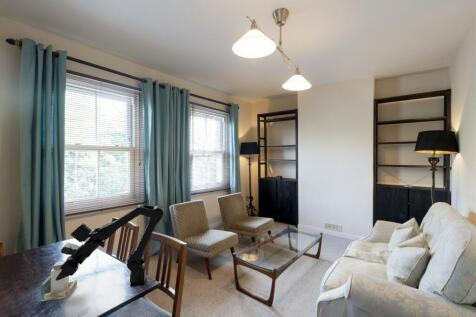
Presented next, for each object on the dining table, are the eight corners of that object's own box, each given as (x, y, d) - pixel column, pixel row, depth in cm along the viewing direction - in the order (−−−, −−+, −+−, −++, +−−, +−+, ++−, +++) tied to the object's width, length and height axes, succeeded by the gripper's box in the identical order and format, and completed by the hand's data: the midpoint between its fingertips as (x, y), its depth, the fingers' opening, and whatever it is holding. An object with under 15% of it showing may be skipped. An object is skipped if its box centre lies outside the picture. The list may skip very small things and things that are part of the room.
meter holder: (76, 284, 113) (76, 270, 112) (68, 297, 103) (68, 281, 103) (52, 288, 110) (52, 273, 110) (41, 301, 100) (41, 284, 100)
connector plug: (68, 287, 110) (68, 260, 109) (64, 293, 105) (64, 265, 104) (56, 289, 108) (56, 261, 108) (51, 295, 103) (50, 266, 103)
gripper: (81, 230, 116) (55, 254, 113) (65, 245, 98) (34, 274, 96) (99, 244, 119) (74, 268, 116) (87, 261, 101) (57, 290, 98)
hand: (60, 274), depth 106 cm, fingers open, 9 cm apart
